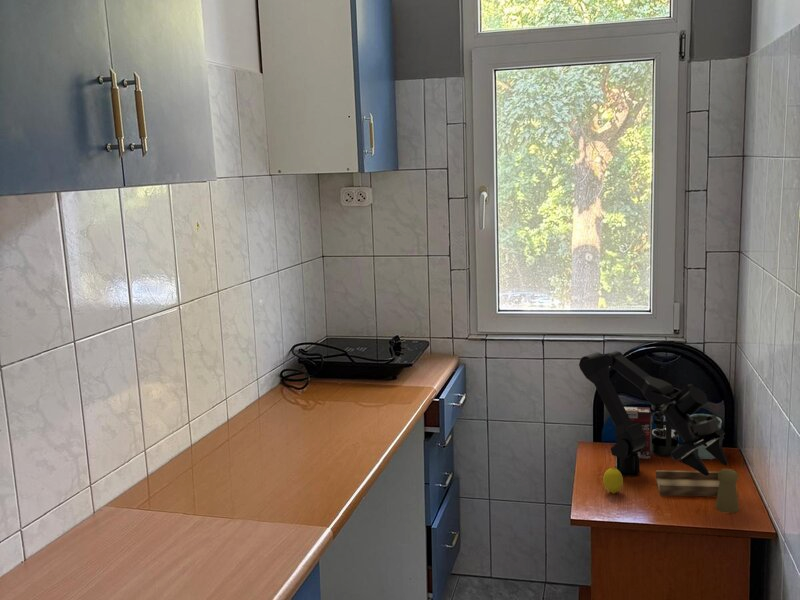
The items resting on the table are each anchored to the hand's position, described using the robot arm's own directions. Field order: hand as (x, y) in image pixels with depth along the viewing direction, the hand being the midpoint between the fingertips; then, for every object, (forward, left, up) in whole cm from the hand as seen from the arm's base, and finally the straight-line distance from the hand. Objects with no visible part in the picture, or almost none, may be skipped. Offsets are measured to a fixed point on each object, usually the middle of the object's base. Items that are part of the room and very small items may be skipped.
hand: (717, 470), depth 219 cm
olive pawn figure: (+2, -2, -10) cm, 11 cm away
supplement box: (-19, +33, -10) cm, 39 cm away
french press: (-10, +37, -10) cm, 40 cm away
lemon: (-28, +5, -10) cm, 30 cm away
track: (-5, +10, -10) cm, 15 cm away
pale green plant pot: (+2, +35, -10) cm, 36 cm away
